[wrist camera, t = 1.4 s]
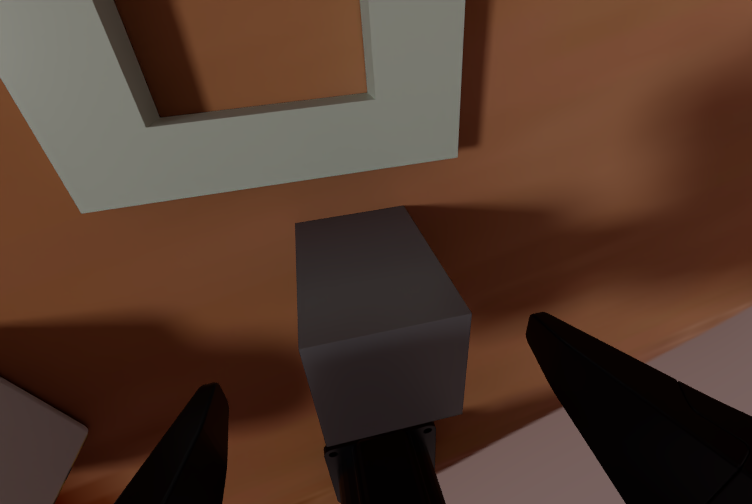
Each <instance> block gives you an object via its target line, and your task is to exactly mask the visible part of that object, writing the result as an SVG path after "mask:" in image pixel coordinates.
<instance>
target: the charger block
mask: <svg viewBox="0 0 752 504" xmlns="http://www.w3.org/2000/svg"><path fill="white" fill-rule="evenodd" d="M295 238H296V273H297V309H298V345H299V352H300V356H301V359H302V363H303V366H304V370H305V373H306V377H307V380H308V384H309V387H310V391H311V394H312V398H313V401H314V405H315V408H316V411H317V415H318V418H319V422H320V425H321V429H322V432H323V436H324V439H325V443H326V446H327V447H329V446H333V445H337V444H341V443H345V442H349V441H354V440H358V439H362V438H366V437H370V436H374V435H378V434H382V433H386V432H390V431H394V430H398V429H403V428H407V427H411V426H415V425H419V424H423V423H427V422H431V421H435V420H439V419H443V418H447V417H451V416H456V415H460V414H462V410H463V400H464V389H465V379H466V368H467V358H468V348H469V337H470V327H471V316H472V313H471V311H470V310H469V308H468V307H467V305H466V304H465V302H464V300H463V299H462V297H461V296H460V294H459V292H458V291H457V289H456V288H455V286H454V285H453V283H452V281H451V280H450V278H449V277H448V275H447V274H446V272H445V270H444V269H443V267H442V266H441V264H440V262H439V261H438V259H437V258H436V256H435V255H434V253H433V251H432V250H431V248H430V247H429V245H428V244H427V242H426V240H425V239H424V237H423V236H422V234H421V232H420V231H419V229H418V228H417V226H416V225H415V223H414V221H413V220H412V218H411V217H410V215H409V214H408V212H407V210H406V209H405V207H404V206H397V207H391V208H385V209H379V210H373V211H367V212H361V213H355V214H349V215H343V216H337V217H330V218H324V219H318V220H312V221H306V222H300V223H295Z"/></svg>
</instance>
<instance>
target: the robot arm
mask: <svg viewBox="0 0 752 504" xmlns="http://www.w3.org/2000/svg"><path fill="white" fill-rule="evenodd" d="M526 339H527V341H528V344H529V346H530V348H531V349H532V351H533V353H534V355H535V357H536V359H537V361H538V363H539V365H540V367H541V369H542V371H543V373H544V375H545V377H546V379H547V381H548V383H549V384H550V386H551V388H552V390H553V391H554V393H555V395H556V396H557V398H558V399H559V401H560V402H561V404H562V405H563V407H564V409H565V410H566V412H567V413H568V415H569V416H570V418H571V419H572V421H573V422H574V424H575V426H576V427H577V428H578V430H579V432H580V433H581V435H582V436H583V438H584V439H585V441H586V443H587V444H588V446H589V447H590V449H591V450H592V452H593V453H594V455H595V456H596V458H597V460H598V461H599V463H600V464H601V466H602V467H603V469H604V471H605V472H606V474H607V475H608V477H609V478H610V480H611V481H612V483H613V484H614V486H615V488H616V489H617V491H618V492H619V494H620V495H621V497H622V498H623V500H624V502H625V503H626V504H752V416H750V415H748V414H745V413H743V412H741V411H739V410H737V409H735V408H732V407H730V406H728V405H726V404H724V403H722V402H720V401H718V400H716V399H714V398H711V397H709V396H708V395H706V394H704V393H701V392H699V391H698V390H695V389H694V388H692V387H689V386H688V385H686V384H684V383H682V382H680V381H678V382H677V380H676V379H674V378H672V377H670V376H668V375H666V374H664V373H662V372H660V371H658V370H657V369H654V368H653V367H651V366H649V365H647V364H645V363H643V362H641V361H639V360H637V359H635V358H633V357H631V356H629V355H628V354H626V353H624V352H622V351H620V350H618V349H616V348H614V347H612V346H610V345H608V344H606V343H604V342H602V341H600V340H598V339H597V338H595V337H593V336H591V335H589V334H587V333H585V332H583V331H581V330H579V329H577V328H575V327H573V326H571V325H569V324H567V323H566V322H564V321H562V320H560V319H558V318H556V317H554V316H552V315H550V314H548V313H546V312H539V313H534V314H531V315H530V317H529V321H528V326H527V330H526ZM228 419H229V405H228V401H227V399H226V397H225V395H224V393H223V391H222V389H221V387H220V385H219V384H218V383H210V384H205V385H202V386H201V387H200V388H199V389H198V390H197V391H196V393H195V394H194V396H193V397H192V398H191V400H190V401H189V402H188V404H187V405H186V406H185V408H184V409H183V410H182V412H181V413H180V415H179V416H178V417H177V419H176V420H175V421H174V423H173V424H172V425H171V427H170V428H169V429H168V431H167V432H166V434H165V435H164V436H163V438H162V439H161V440H160V442H159V443H158V444H157V446H156V447H155V448H154V450H153V451H152V453H151V454H150V455H149V457H148V458H147V459H146V461H145V462H144V463H143V465H142V466H141V467H140V469H139V470H138V472H137V473H136V474H135V476H134V477H133V478H132V480H131V481H130V482H129V484H128V485H127V486H126V488H125V489H124V491H123V492H122V493H121V495H120V496H119V497H118V499H117V500H116V501H115V503H114V504H222V501H223V494H224V487H225V479H226V471H227V455H228ZM435 441H436V428H435V425H434V422H433V421H431V422H427V423H423V424H419V425H415V426H411V427H407V428H403V429H398V430H394V431H390V432H386V433H382V434H378V435H374V436H370V437H366V438H362V439H358V440H354V441H349V442H345V443H341V444H337V445H333V446H329V447H327V446H325V447H324V457H325V460H326V464H327V467H328V470H329V473H330V477H331V480H332V483H333V487H334V490H335V493H336V496H337V500H338V502H340V503H341V504H446V503H445V500H444V497H443V494H442V491H441V488H440V485H439V482H438V479H437V476H436V473H435Z"/></svg>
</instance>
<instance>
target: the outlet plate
mask: <svg viewBox="0 0 752 504" xmlns="http://www.w3.org/2000/svg"><path fill="white" fill-rule="evenodd" d="M360 8H361V20H362V32H363V44H364V56H365V68H366V80H367V92H368V93H361V94H352V95H344V96H336V97H328V98H319V99H311V100H303V101H294V102H286V103H278V104H269V105H261V106H253V107H244V108H236V109H228V110H220V111H211V112H203V113H195V114H186V115H178V116H170V117H161V118H160V117H159V114H158V112H157V109H156V106H155V104H154V101H153V99H152V96H151V94H150V91H149V89H148V86H147V84H146V81H145V79H144V76H143V74H142V71H141V68H140V66H139V63H138V61H137V58H136V56H135V53H134V51H133V48H132V46H131V43H130V41H129V38H128V36H127V33H126V30H125V28H124V25H123V23H122V20H121V18H120V15H119V13H118V10H117V8H116V5H115V3H114V0H0V78H1V79H2V81H3V83H4V84H5V86H6V88H7V89H8V91H9V93H10V95H11V96H12V98H13V100H14V101H15V103H16V105H17V106H18V108H19V110H20V111H21V113H22V115H23V116H24V118H25V120H26V121H27V123H28V125H29V126H30V128H31V130H32V131H33V133H34V135H35V136H36V138H37V140H38V141H39V143H40V145H41V147H42V148H43V150H44V152H45V153H46V155H47V157H48V158H49V160H50V162H51V163H52V165H53V167H54V168H55V170H56V172H57V173H58V175H59V177H60V178H61V180H62V182H63V183H64V185H65V187H66V188H67V190H68V192H69V193H70V195H71V197H72V199H73V200H74V202H75V204H76V205H77V207H78V209H79V210H80V212H81V214H82V213H88V212H95V211H102V210H108V209H115V208H122V207H128V206H135V205H142V204H148V203H155V202H162V201H169V200H175V199H182V198H189V197H195V196H202V195H209V194H215V193H222V192H229V191H236V190H242V189H249V188H256V187H262V186H269V185H276V184H282V183H289V182H296V181H302V180H309V179H316V178H323V177H329V176H336V175H343V174H349V173H356V172H363V171H369V170H376V169H383V168H390V167H396V166H403V165H410V164H416V163H423V162H430V161H436V160H443V159H450V158H456V157H458V138H459V117H460V97H461V77H462V57H463V37H464V16H465V0H360Z"/></svg>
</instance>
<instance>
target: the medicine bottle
mask: <svg viewBox="0 0 752 504" xmlns="http://www.w3.org/2000/svg"><path fill="white" fill-rule="evenodd" d="M87 435H88V429H87V427H86V426H85V425H83V424H81V423H79V422H78V421H76V420H74V419H73V418H71V417H69V416H67V415H66V414H64V413H62V412H60V411H59V410H57V409H55V408H54V407H52V406H50V405H48V404H47V403H45V402H43V401H41V400H40V399H38V398H36V397H35V396H33V395H31V394H29V393H28V392H26V391H24V390H23V389H21V388H19V387H17V386H16V385H14V384H12V383H10V382H9V381H7V380H5V379H4V378H2V377H0V504H54V503H55V501H56V499H57V497H58V495H59V493H60V491H61V489H62V487H63V485H64V483H65V481H66V479H67V477H68V475H69V473H70V471H71V469H72V466H73V464H74V462H75V460H76V458H77V456H78V454H79V452H80V450H81V448H82V446H83V444H84V442H85V440H86V438H87Z"/></svg>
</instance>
